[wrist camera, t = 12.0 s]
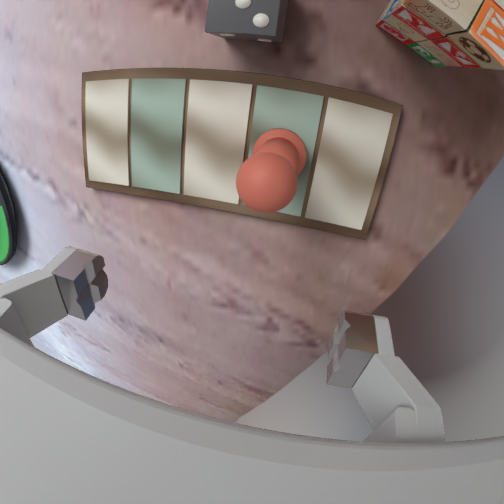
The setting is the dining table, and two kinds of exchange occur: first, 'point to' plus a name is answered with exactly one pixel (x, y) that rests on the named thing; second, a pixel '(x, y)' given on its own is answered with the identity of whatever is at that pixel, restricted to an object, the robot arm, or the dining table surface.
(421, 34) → the stack of blocks
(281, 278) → the dining table surface
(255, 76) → the board
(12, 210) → the electronic game
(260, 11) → the die
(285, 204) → the pawn
